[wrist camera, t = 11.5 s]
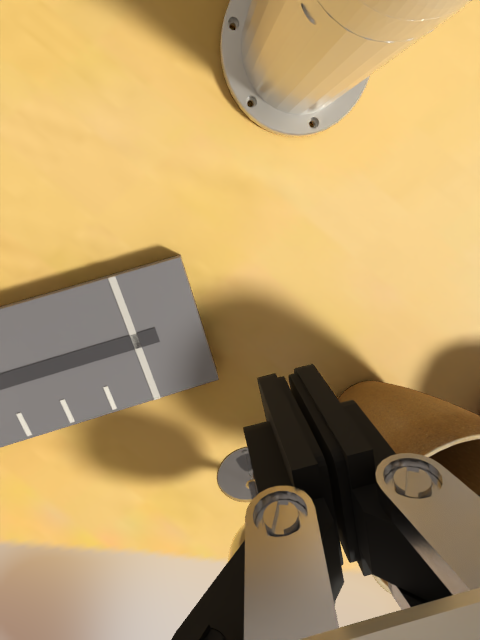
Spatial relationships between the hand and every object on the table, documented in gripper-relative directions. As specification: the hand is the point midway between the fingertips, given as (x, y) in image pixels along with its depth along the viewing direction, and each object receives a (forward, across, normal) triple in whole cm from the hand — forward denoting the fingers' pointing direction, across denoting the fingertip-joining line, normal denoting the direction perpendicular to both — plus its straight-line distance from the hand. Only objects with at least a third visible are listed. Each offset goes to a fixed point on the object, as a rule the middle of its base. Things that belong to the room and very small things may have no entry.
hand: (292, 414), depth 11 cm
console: (+25, +18, +5) cm, 31 cm away
